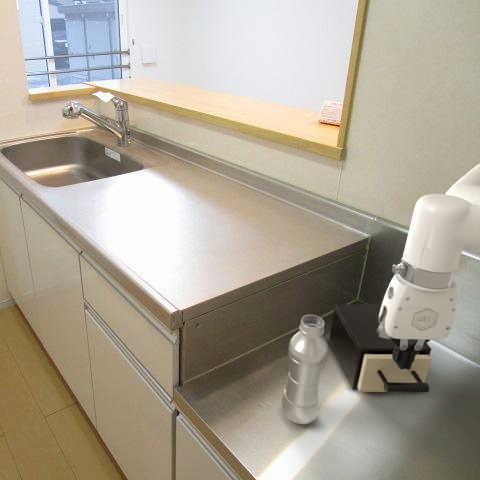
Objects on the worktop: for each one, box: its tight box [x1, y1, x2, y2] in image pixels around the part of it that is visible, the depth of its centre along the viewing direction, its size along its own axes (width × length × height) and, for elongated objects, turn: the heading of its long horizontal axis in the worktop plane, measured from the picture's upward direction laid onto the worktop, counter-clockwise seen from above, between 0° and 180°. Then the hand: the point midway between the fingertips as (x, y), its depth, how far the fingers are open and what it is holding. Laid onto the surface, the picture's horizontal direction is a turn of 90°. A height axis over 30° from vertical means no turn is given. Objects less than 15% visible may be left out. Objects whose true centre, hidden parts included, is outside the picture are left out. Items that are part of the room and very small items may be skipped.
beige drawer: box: [357, 352, 432, 393], centre depth 86 cm, size 18×11×8 cm, turn 178°
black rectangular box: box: [328, 304, 432, 390], centre depth 90 cm, size 15×13×10 cm
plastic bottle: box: [281, 314, 330, 425], centre depth 76 cm, size 6×7×20 cm
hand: (401, 364), depth 79 cm, fingers closed
